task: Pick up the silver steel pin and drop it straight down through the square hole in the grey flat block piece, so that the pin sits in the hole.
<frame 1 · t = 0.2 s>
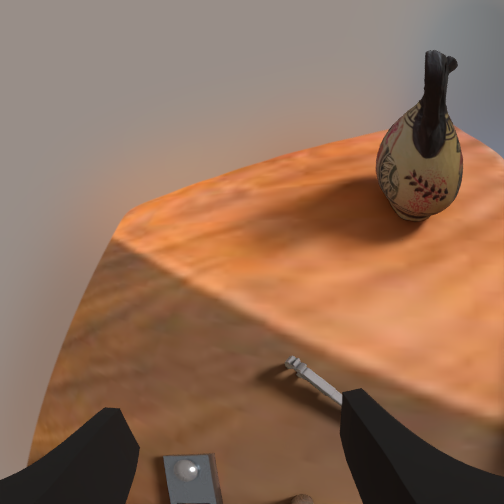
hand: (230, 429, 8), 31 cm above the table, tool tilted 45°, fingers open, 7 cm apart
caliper: (347, 408, 34), on the table
steel pin: (301, 503, 28), on the table
ceramic jug: (407, 204, 50), on the table
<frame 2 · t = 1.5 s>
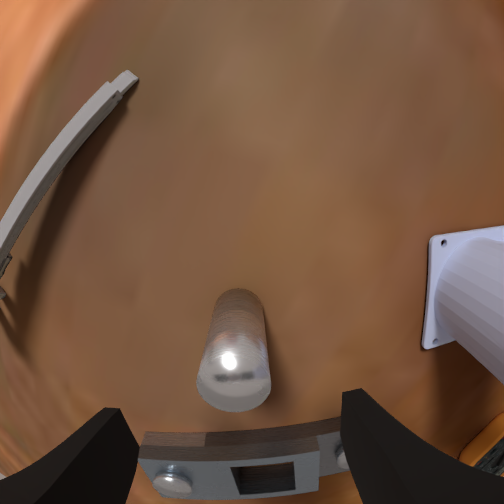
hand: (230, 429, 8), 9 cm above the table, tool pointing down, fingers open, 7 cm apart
grey flat block piece: (263, 452, 20), on the table
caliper: (42, 207, 16), on the table
steel pin: (238, 311, 17), on the table
multimeter: (494, 442, 24), on the table
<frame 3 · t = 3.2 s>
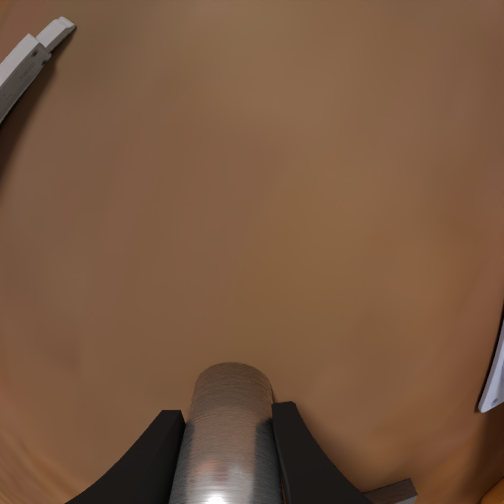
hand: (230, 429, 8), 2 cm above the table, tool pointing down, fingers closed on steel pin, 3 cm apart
steel pin: (232, 392, 10), on the table, touching gripper
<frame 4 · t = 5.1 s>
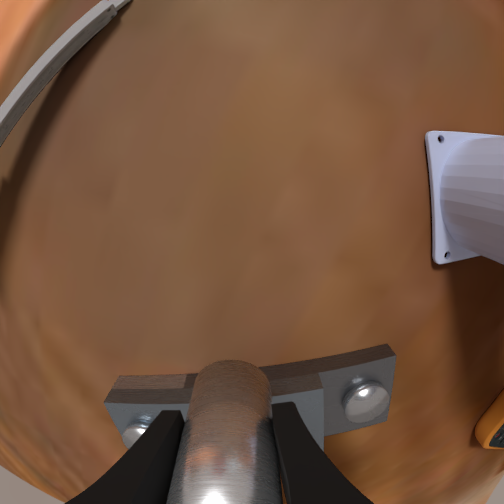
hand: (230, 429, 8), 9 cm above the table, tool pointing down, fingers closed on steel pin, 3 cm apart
grey flat block piece: (256, 402, 19), on the table
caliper: (31, 120, 15), on the table
steel pin: (232, 390, 10), point 7 cm above the table, touching gripper
when the fingers open (4 cm above the table, at t = 7.2 s): steel pin drops 2 cm, resting in grey flat block piece.
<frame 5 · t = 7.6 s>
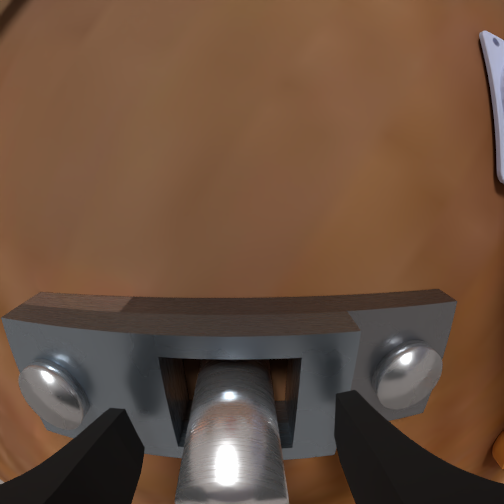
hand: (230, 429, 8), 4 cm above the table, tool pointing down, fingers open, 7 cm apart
grey flat block piece: (234, 363, 12), on the table
steel pin: (234, 362, 12), resting in grey flat block piece
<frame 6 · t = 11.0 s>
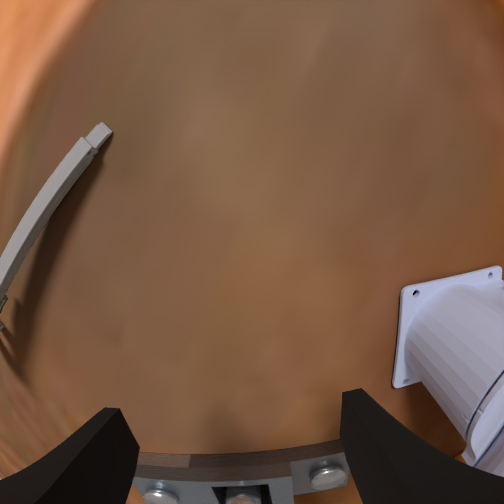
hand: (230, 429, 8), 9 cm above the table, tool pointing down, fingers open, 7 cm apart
grey flat block piece: (243, 472, 21), on the table
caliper: (32, 252, 17), on the table
steel pin: (243, 471, 21), resting in grey flat block piece
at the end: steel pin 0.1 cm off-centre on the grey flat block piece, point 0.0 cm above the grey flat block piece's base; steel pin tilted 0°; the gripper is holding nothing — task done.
